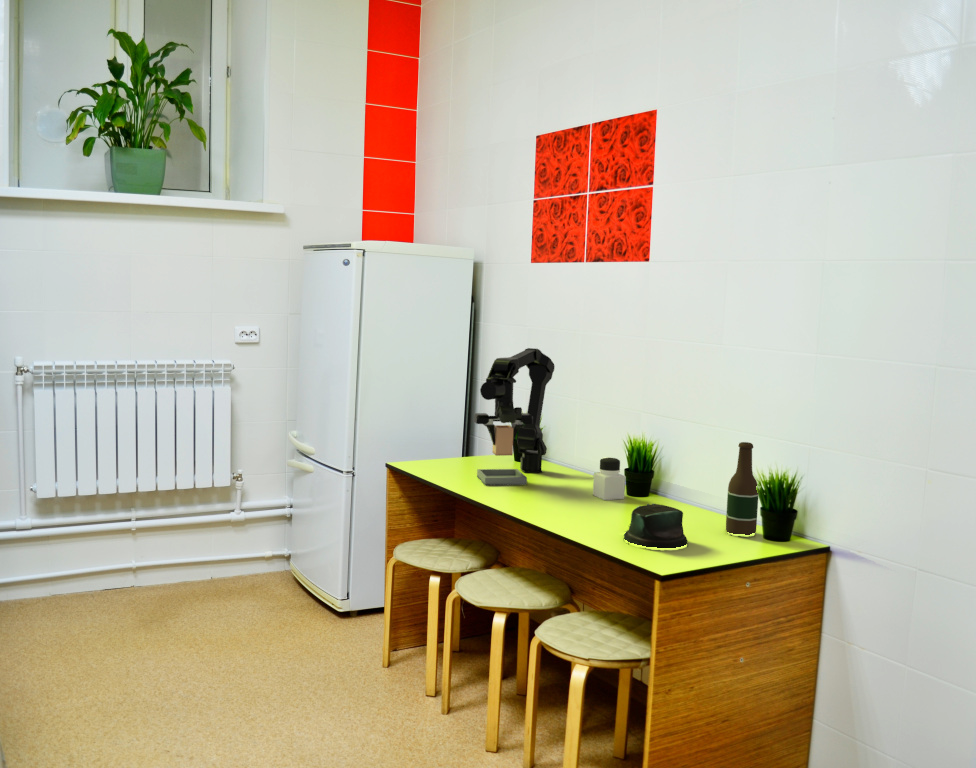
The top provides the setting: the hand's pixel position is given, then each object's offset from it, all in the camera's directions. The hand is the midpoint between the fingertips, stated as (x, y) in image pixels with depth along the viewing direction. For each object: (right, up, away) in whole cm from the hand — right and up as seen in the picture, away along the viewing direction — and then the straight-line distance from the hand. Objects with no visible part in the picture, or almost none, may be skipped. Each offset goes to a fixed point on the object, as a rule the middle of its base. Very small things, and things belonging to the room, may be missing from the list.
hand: (502, 444), depth 277 cm
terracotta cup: (0, -3, 0) cm, 3 cm away
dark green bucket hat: (+37, -20, -65) cm, 78 cm away
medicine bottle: (+32, -15, -18) cm, 39 cm away
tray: (0, -12, +1) cm, 12 cm away
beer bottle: (+61, -19, -55) cm, 85 cm away
